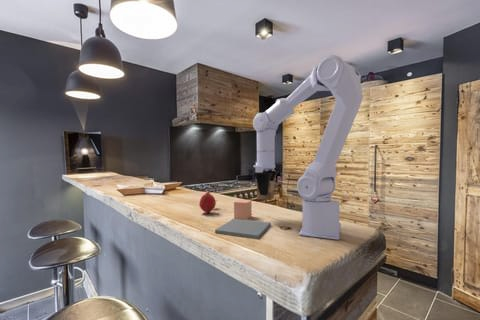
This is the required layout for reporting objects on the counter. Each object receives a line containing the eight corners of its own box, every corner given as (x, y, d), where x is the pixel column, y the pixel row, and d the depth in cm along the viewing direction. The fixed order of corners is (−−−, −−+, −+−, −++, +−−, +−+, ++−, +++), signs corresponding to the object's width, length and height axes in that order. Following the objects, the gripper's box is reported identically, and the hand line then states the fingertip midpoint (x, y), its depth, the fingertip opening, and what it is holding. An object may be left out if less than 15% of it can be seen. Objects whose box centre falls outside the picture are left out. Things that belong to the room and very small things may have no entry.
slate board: (270, 225, 66) (270, 222, 66) (258, 238, 55) (258, 235, 55) (233, 221, 71) (233, 218, 71) (215, 232, 60) (215, 229, 60)
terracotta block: (251, 216, 77) (251, 200, 77) (246, 219, 73) (246, 202, 73) (239, 215, 79) (239, 199, 79) (234, 218, 74) (234, 201, 74)
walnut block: (274, 197, 74) (274, 181, 74) (270, 200, 70) (270, 182, 70) (261, 196, 76) (261, 180, 76) (256, 199, 71) (256, 181, 71)
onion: (212, 215, 78) (212, 192, 78) (197, 214, 79) (196, 192, 79) (217, 211, 84) (217, 190, 84) (203, 211, 85) (202, 189, 85)
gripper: (260, 152, 81) (260, 190, 81) (246, 151, 67) (246, 196, 67) (279, 152, 78) (280, 191, 78) (268, 150, 65) (269, 198, 65)
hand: (265, 193), depth 73 cm, fingers closed on walnut block, 4 cm apart
